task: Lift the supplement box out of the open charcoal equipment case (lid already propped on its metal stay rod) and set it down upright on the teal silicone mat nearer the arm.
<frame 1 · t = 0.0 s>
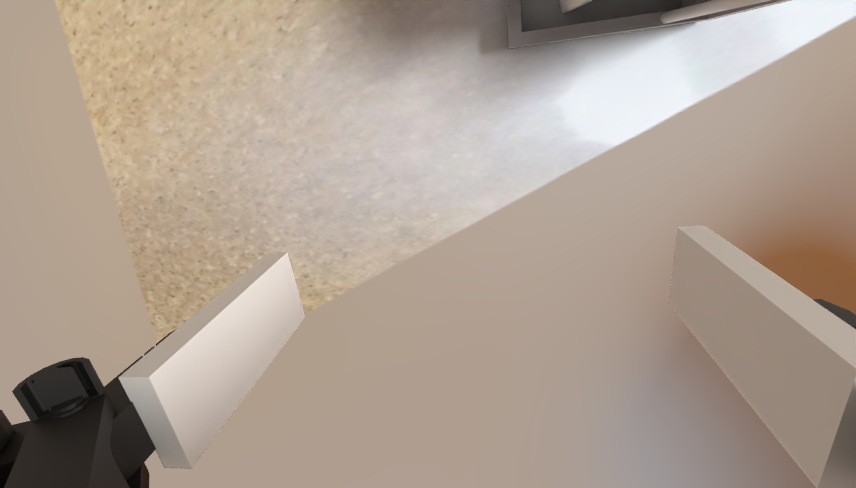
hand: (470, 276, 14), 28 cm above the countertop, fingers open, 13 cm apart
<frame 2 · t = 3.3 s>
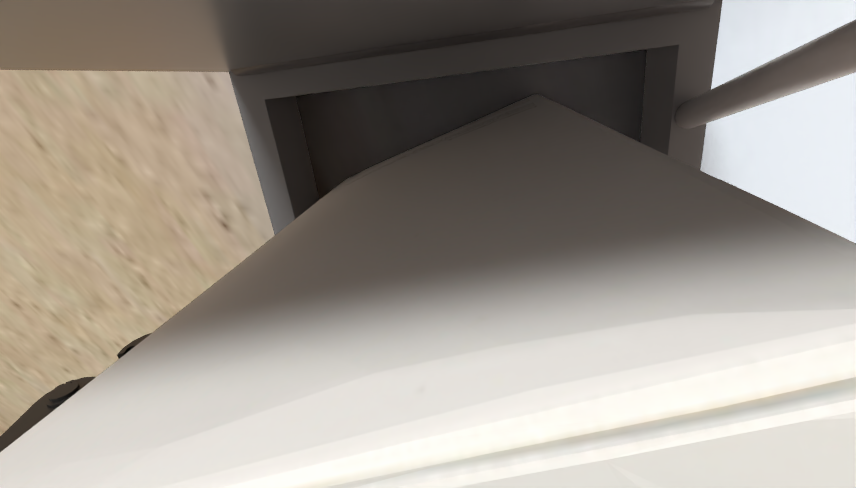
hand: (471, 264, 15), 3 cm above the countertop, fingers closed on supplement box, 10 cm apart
supplement box: (472, 234, 18), resting in case, touching gripper
case: (472, 236, 17), on the countertop
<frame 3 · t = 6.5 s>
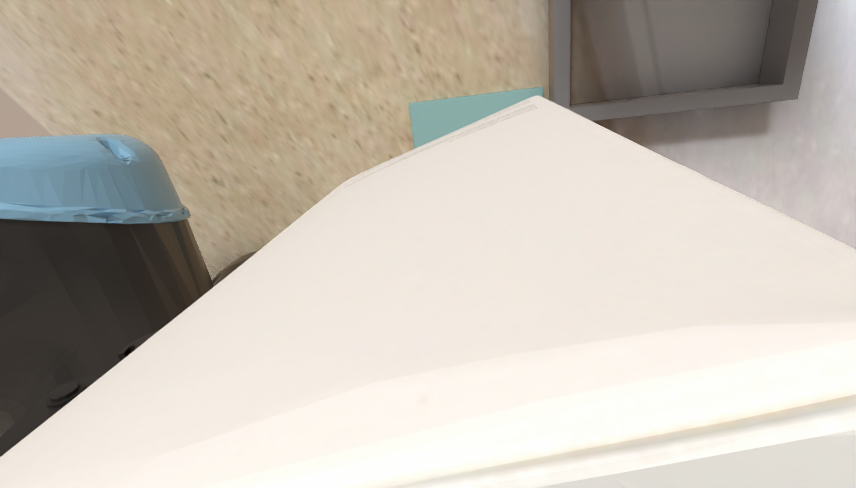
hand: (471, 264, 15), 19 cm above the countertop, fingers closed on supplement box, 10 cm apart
supplement box: (473, 235, 18), point 16 cm above the countertop, touching gripper
mat: (478, 161, 32), on the countertop
when the fingers open (4 cm above the countertop, at t = 9.7 s): supplement box drops 1 cm, resting on mat.
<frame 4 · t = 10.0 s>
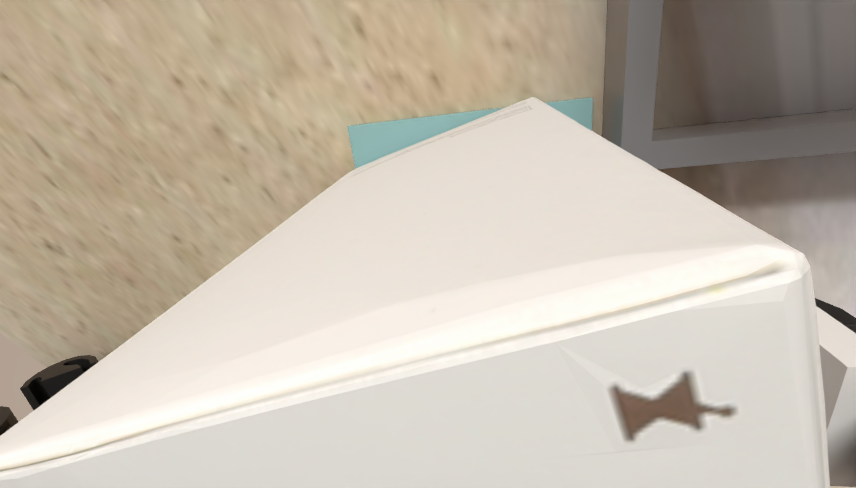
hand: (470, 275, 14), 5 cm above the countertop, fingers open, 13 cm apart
supplement box: (468, 227, 19), resting on mat
mat: (473, 224, 19), on the countertop
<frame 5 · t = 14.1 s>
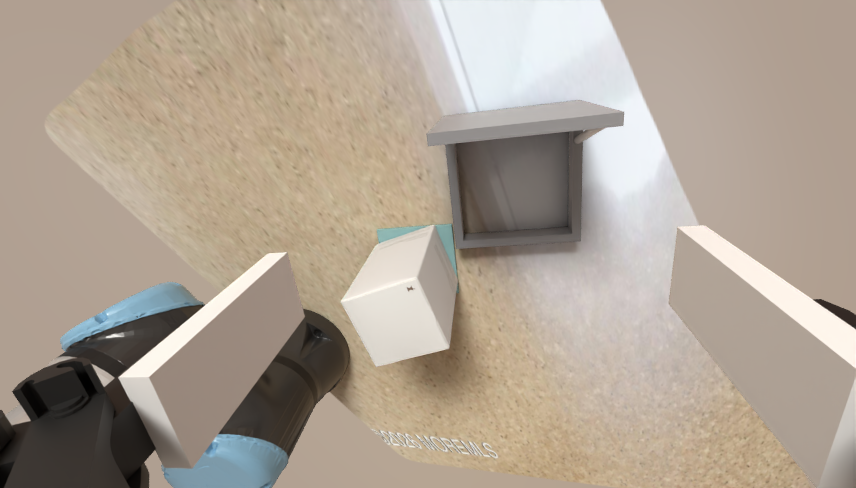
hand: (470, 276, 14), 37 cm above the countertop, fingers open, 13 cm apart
supplement box: (417, 262, 55), resting on mat
mat: (418, 260, 55), on the countertop
case: (512, 180, 49), on the countertop
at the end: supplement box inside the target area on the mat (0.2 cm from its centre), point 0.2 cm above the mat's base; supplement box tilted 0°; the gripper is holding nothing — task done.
